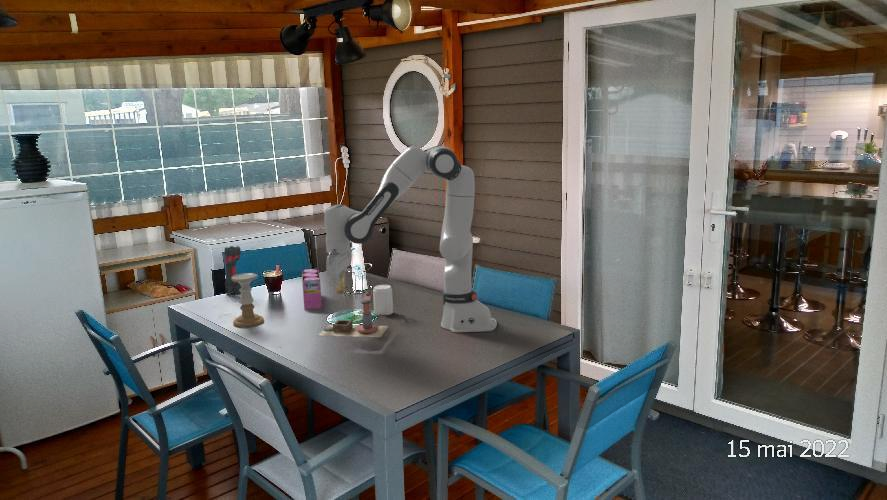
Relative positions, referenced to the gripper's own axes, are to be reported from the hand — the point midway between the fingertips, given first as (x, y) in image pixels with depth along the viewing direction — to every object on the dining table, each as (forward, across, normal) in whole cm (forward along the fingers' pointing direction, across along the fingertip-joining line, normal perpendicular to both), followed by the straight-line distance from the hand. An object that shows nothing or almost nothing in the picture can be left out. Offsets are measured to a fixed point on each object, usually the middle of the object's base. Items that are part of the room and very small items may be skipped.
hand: (340, 282), depth 248 cm
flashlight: (+20, +52, +71) cm, 91 cm away
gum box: (+21, +40, +28) cm, 53 cm away
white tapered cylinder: (+21, +25, -10) cm, 34 cm away
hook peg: (+4, 0, 0) cm, 4 cm away
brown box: (+20, 0, 0) cm, 20 cm away
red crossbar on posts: (+19, +4, -9) cm, 22 cm away
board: (+21, 0, -4) cm, 21 cm away
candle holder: (+21, +9, +44) cm, 50 cm away
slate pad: (+20, 0, +6) cm, 20 cm away
